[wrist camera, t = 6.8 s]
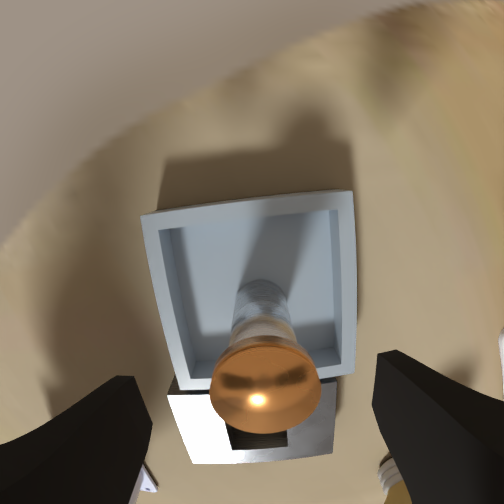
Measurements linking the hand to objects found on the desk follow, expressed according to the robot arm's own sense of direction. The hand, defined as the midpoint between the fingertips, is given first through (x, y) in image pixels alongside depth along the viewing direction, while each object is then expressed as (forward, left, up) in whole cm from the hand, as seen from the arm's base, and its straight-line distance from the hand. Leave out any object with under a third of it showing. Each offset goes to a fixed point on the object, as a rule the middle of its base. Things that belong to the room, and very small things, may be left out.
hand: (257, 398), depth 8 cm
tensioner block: (-1, -9, -9) cm, 13 cm away
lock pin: (0, -1, -9) cm, 9 cm away
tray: (0, 0, -9) cm, 9 cm away
